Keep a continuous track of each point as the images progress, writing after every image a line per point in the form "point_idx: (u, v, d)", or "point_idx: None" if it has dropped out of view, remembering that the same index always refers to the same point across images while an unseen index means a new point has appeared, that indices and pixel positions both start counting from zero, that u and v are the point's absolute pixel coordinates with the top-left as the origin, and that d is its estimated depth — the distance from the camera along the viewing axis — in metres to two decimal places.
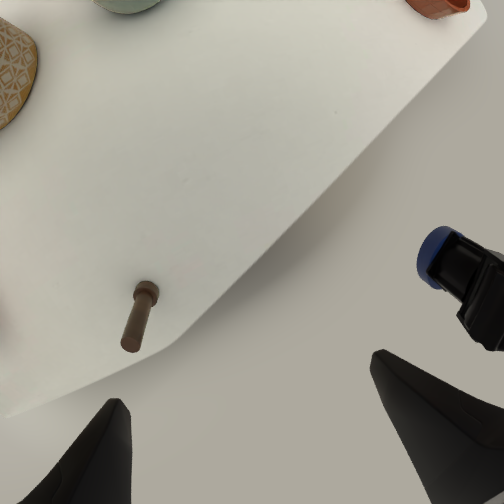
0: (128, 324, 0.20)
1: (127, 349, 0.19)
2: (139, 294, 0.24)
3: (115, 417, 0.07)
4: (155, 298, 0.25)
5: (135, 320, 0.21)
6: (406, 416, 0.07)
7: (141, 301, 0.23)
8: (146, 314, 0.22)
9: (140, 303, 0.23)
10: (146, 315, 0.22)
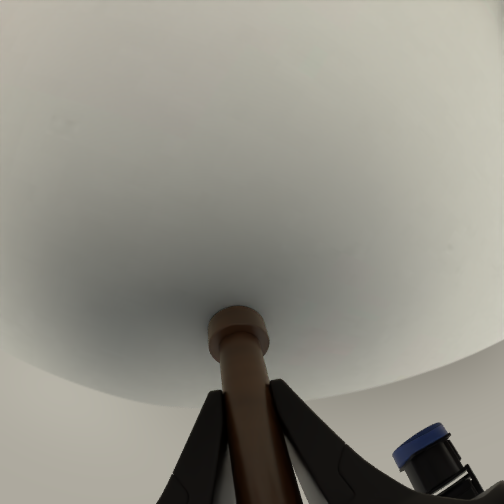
0: (275, 452, 0.06)
1: None
2: (250, 341, 0.10)
3: (223, 410, 0.07)
4: None
5: (284, 441, 0.06)
6: (293, 456, 0.06)
7: (267, 374, 0.09)
8: None
9: (267, 379, 0.08)
10: None
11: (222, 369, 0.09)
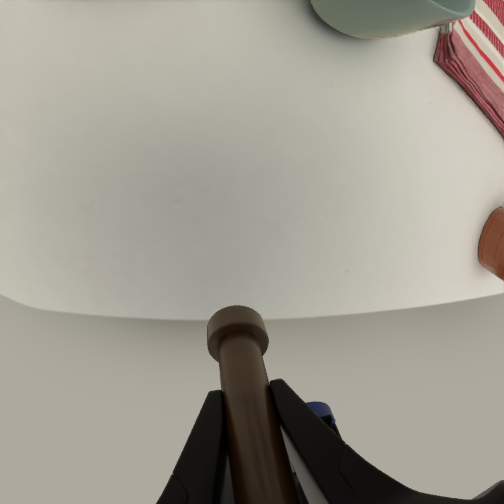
0: (273, 452, 0.06)
1: None
2: (249, 341, 0.10)
3: (223, 410, 0.07)
4: None
5: (282, 441, 0.06)
6: (293, 456, 0.06)
7: (265, 374, 0.09)
8: None
9: (266, 379, 0.08)
10: None
11: (221, 369, 0.09)
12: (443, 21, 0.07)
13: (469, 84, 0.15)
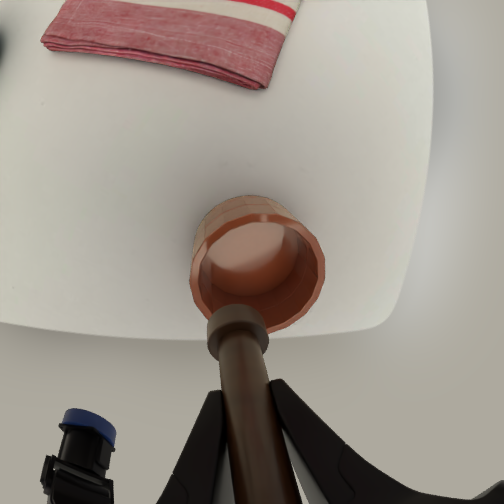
0: (274, 451, 0.06)
1: None
2: (249, 339, 0.10)
3: (223, 410, 0.07)
4: None
5: (283, 440, 0.06)
6: (293, 456, 0.06)
7: (266, 372, 0.09)
8: None
9: (267, 377, 0.08)
10: None
11: (221, 367, 0.09)
12: None
13: (79, 48, 0.12)
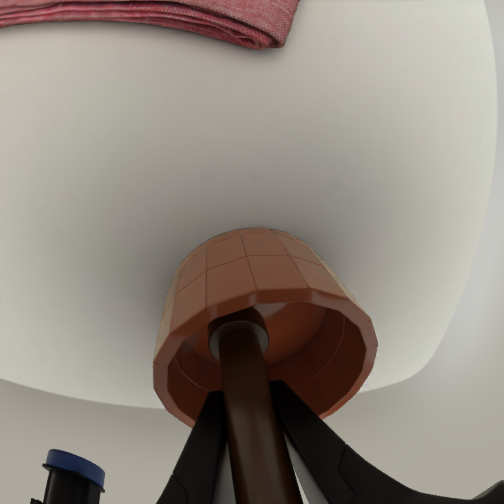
0: (274, 451, 0.06)
1: None
2: (249, 339, 0.10)
3: (223, 410, 0.07)
4: None
5: (284, 439, 0.06)
6: (293, 456, 0.06)
7: (266, 372, 0.09)
8: None
9: (267, 377, 0.08)
10: None
11: (221, 367, 0.09)
12: None
13: (0, 19, 0.04)
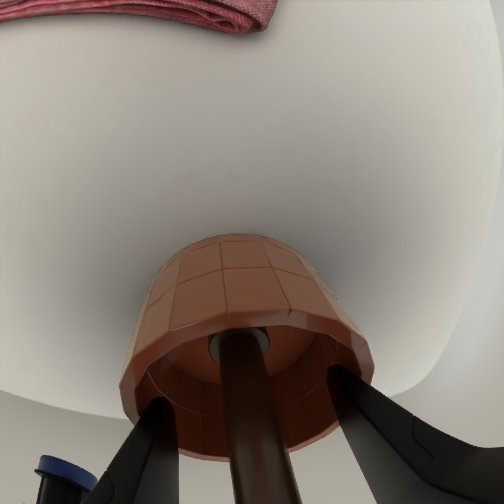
0: (275, 458, 0.05)
1: None
2: (250, 343, 0.10)
3: (163, 416, 0.07)
4: None
5: (285, 446, 0.06)
6: (358, 437, 0.06)
7: (267, 377, 0.09)
8: None
9: (268, 382, 0.08)
10: None
11: (222, 372, 0.09)
12: None
13: None
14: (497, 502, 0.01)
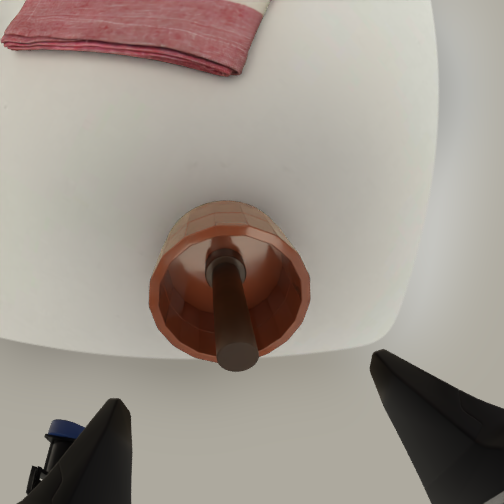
0: (241, 316, 0.11)
1: (223, 359, 0.10)
2: (232, 267, 0.16)
3: (115, 417, 0.07)
4: None
5: (248, 315, 0.12)
6: (406, 416, 0.07)
7: (242, 285, 0.14)
8: None
9: (242, 286, 0.14)
10: None
11: (213, 283, 0.15)
12: None
13: (37, 45, 0.09)
14: None
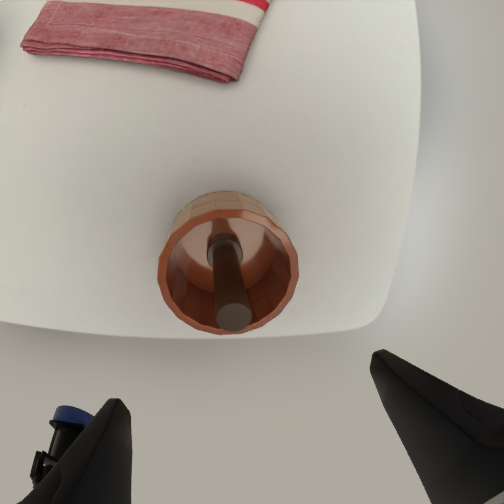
0: (237, 284, 0.14)
1: (221, 319, 0.12)
2: (230, 249, 0.18)
3: (115, 417, 0.07)
4: None
5: (243, 285, 0.14)
6: (406, 416, 0.07)
7: (238, 263, 0.17)
8: None
9: (238, 264, 0.16)
10: None
11: (213, 261, 0.17)
12: None
13: (56, 51, 0.11)
14: None
